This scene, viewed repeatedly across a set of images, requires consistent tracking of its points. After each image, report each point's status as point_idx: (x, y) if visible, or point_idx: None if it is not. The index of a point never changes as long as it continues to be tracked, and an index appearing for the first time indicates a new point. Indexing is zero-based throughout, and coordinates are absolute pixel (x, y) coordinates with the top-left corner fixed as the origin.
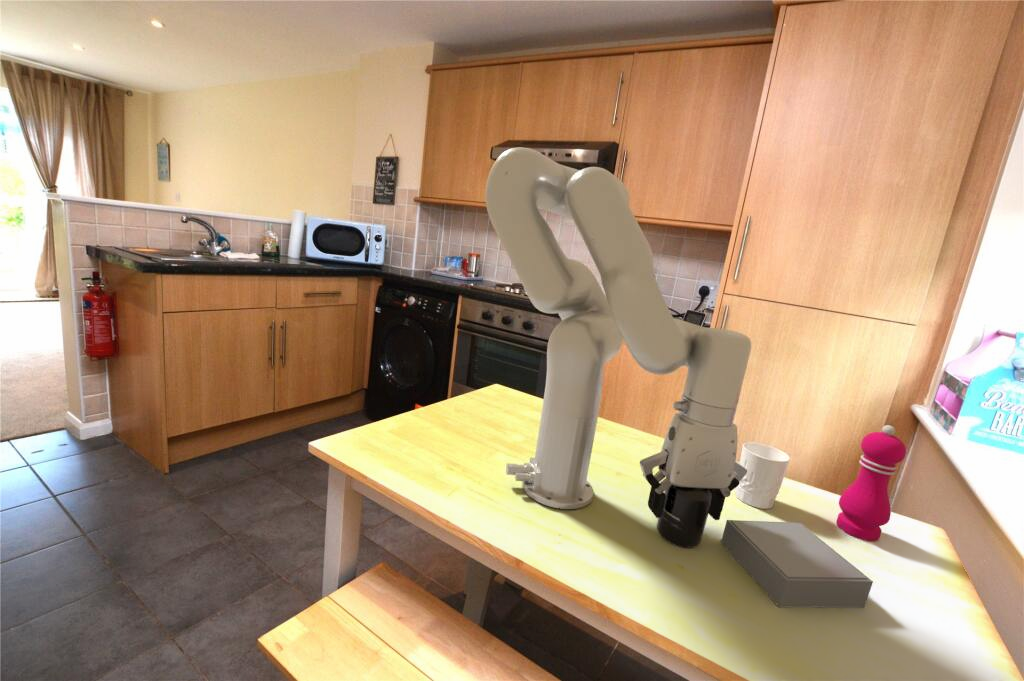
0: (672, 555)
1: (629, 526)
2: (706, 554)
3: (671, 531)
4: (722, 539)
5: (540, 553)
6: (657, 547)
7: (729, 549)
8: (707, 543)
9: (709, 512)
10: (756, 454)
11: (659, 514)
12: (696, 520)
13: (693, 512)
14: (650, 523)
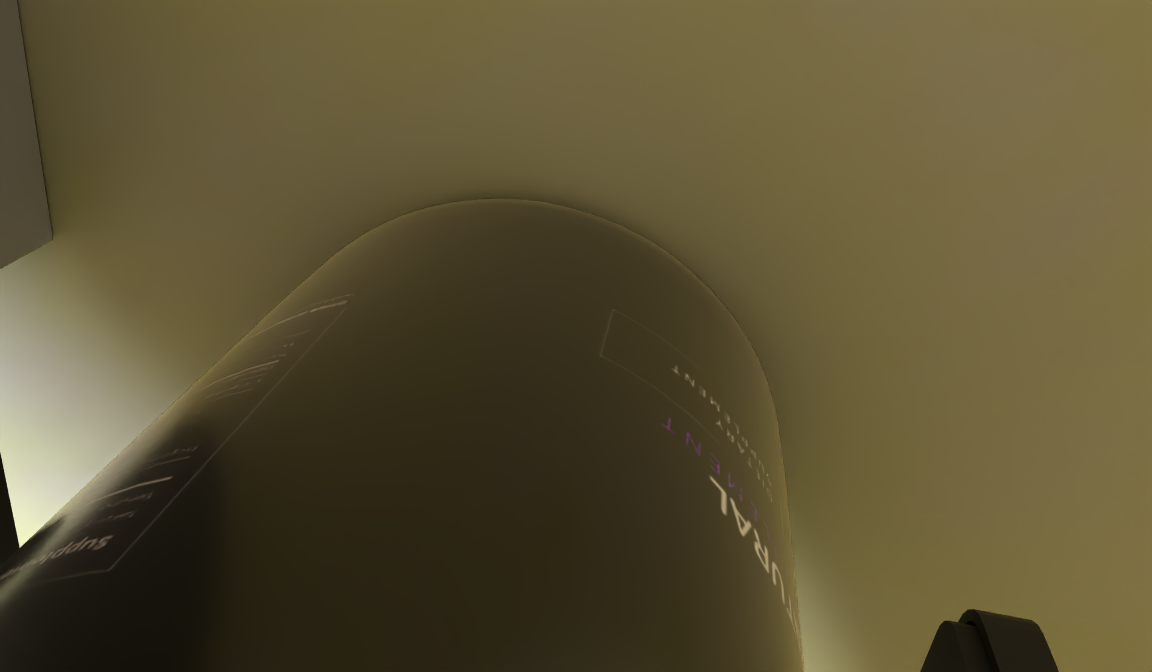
0: (872, 111)
1: None
2: (366, 69)
3: (755, 405)
4: (18, 248)
5: None
6: (964, 278)
7: (10, 88)
8: (232, 252)
9: None
10: None
11: (1029, 662)
12: (430, 389)
13: (491, 525)
14: None
